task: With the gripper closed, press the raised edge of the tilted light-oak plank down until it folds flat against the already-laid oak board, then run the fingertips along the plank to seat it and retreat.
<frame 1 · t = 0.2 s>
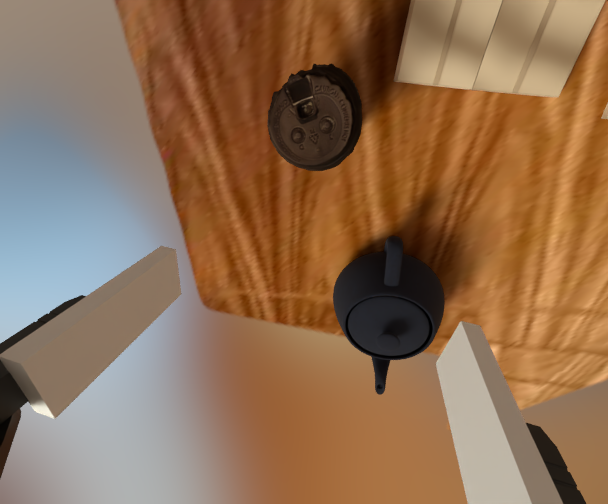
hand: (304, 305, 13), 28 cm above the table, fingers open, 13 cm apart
teapot: (384, 289, 44), on the table
coffee cup: (332, 115, 34), on the table
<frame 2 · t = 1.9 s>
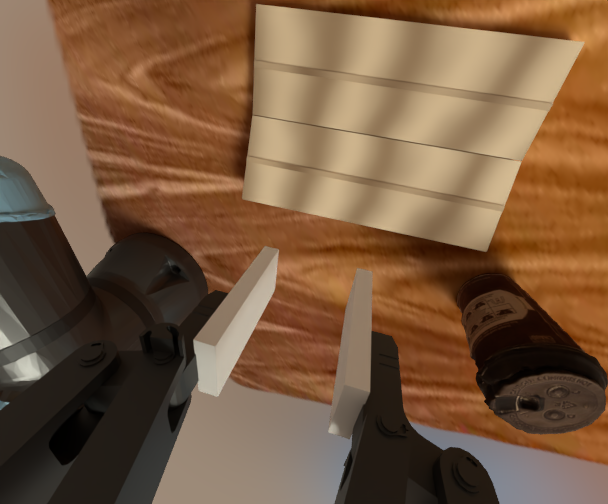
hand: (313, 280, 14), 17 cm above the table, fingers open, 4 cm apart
plank: (367, 182, 26), point 2 cm above the table, hinge at 15.2°
laid board: (391, 84, 23), on the table
coffee cup: (485, 294, 31), on the table
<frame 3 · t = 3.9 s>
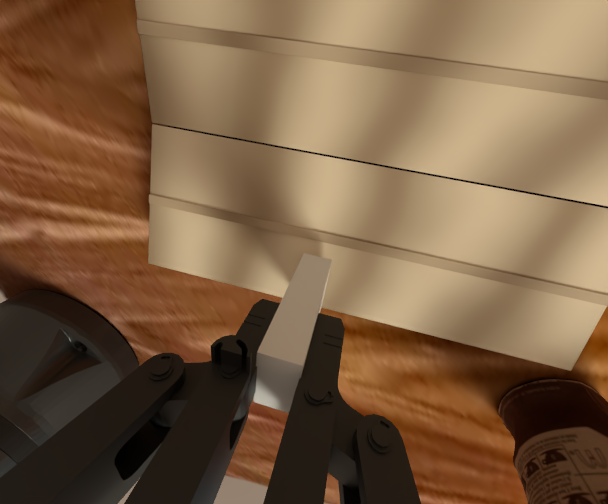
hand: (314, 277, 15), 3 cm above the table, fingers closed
plank: (356, 242, 15), point 2 cm above the table, hinge at 14.6°, touching gripper
laid board: (400, 66, 12), on the table
coffee cup: (543, 402, 20), on the table
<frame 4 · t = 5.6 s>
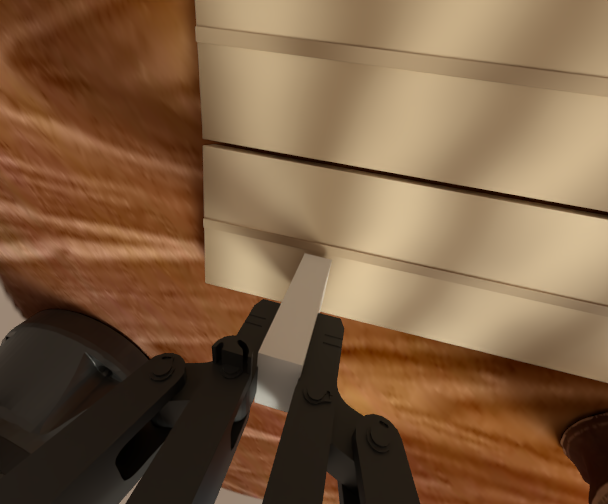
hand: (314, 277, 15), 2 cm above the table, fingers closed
plank: (424, 266, 14), point 1 cm above the table, hinge at 4.4°, touching gripper
laid board: (494, 77, 11), on the table
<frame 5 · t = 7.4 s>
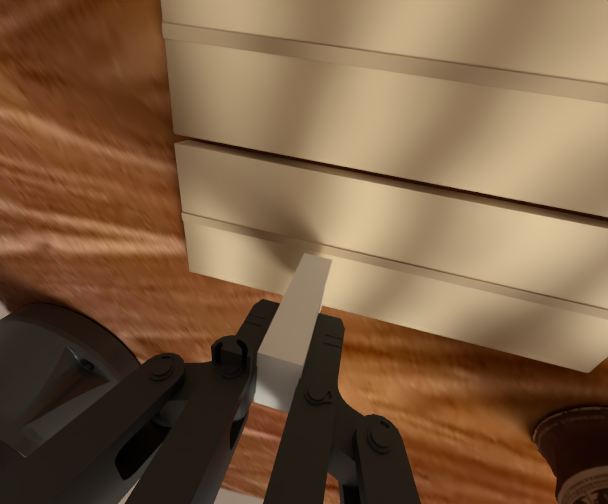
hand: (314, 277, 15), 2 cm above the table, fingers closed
plank: (391, 258, 15), point 1 cm above the table, hinge at -2.0°
laid board: (453, 76, 11), on the table
coffee cup: (581, 429, 19), on the table
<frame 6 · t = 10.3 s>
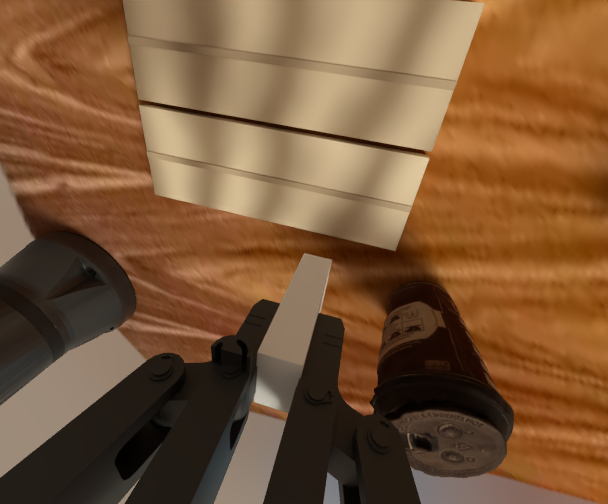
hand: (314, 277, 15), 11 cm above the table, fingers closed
plank: (271, 177, 24), point 1 cm above the table, hinge at -2.0°
laid board: (282, 63, 20), on the table
coffee cup: (417, 305, 27), on the table
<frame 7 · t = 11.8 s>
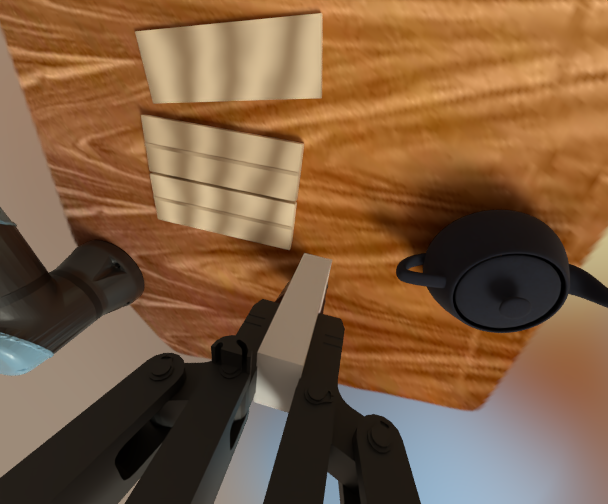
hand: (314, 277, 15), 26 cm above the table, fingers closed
plank: (222, 211, 44), point 1 cm above the table, hinge at -2.0°
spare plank: (230, 65, 35), on the table
teapot: (484, 254, 39), on the table
laid board: (222, 157, 40), on the table
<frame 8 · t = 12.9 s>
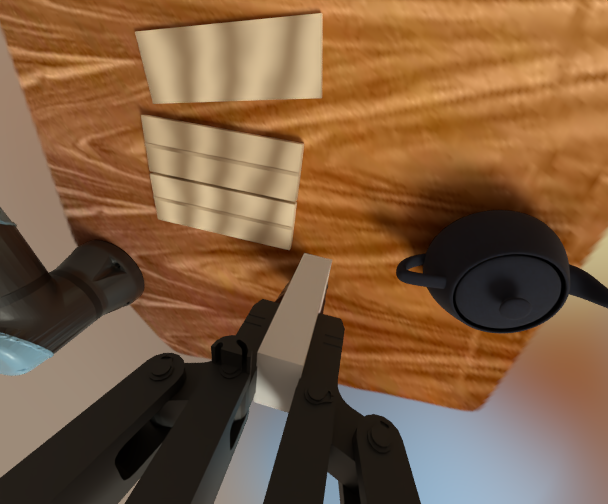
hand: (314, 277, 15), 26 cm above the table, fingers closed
plank: (222, 211, 44), point 1 cm above the table, hinge at -2.0°
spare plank: (230, 65, 35), on the table
teapot: (484, 254, 39), on the table
laid board: (222, 157, 40), on the table
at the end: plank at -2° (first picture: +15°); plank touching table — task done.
